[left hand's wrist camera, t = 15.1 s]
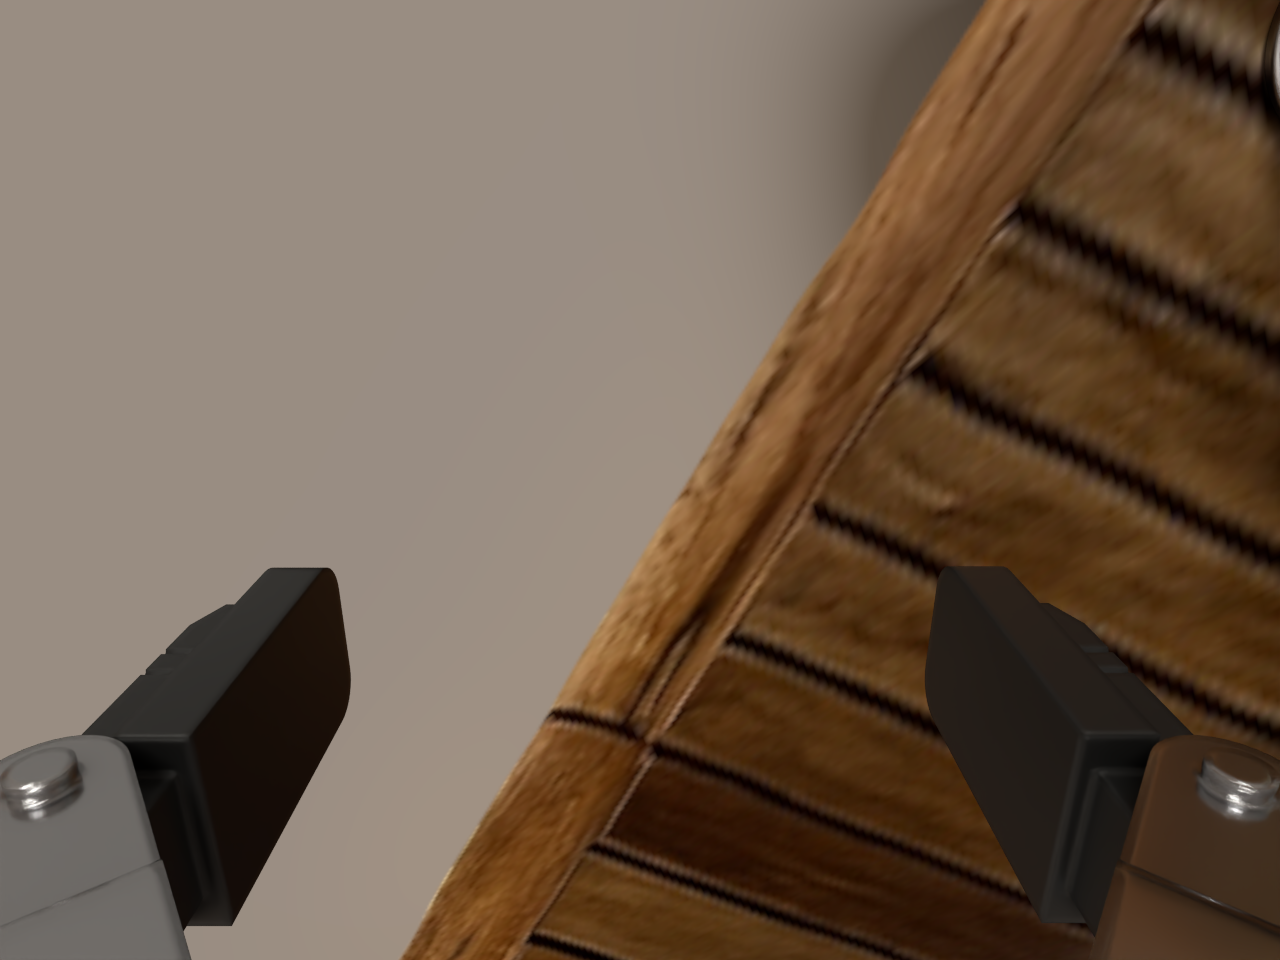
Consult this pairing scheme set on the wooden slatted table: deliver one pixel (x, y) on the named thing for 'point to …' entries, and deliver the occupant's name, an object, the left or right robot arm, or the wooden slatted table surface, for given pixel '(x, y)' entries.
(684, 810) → the wooden slatted table surface
